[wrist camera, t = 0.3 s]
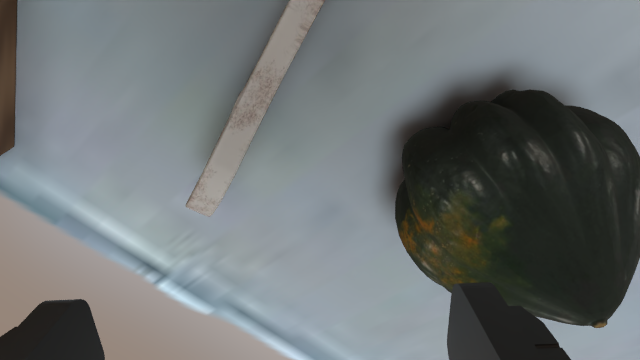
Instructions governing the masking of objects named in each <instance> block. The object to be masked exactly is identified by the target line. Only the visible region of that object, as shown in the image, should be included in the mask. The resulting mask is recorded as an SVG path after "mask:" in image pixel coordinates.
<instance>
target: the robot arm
mask: <svg viewBox="0 0 640 360" xmlns="http://www.w3.org/2000/svg"><path fill="white" fill-rule="evenodd" d="M447 348H448V355H449V360H571V359H570V358H569V356H568V355H567V354H566V352H565V351H564V350H563V348H560V347H559V343H558V342H557V340H556V339H555V338H554V336H553V335H552V334H551V332H550V331H549V330H548V328H547V327H546V326H545V324H544V323H543V322H542V321H540V320H539V319H538V318H536V317H535V316H534V315H532V314H531V313H530V312H528V311H527V310H525V309H524V308H523V307H521V306H508V305H507V303H506V302H505V300H504V299H503V297H502V296H501V294H500V293H499V291H498V290H497V288H496V287H495V286H494V285H493V284H492V283H491V282H481V283H459V284H454V286H453V289H452V295H451V305H450V315H449V325H448V335H447ZM0 360H105V357H104V351H103V348H102V345H101V342H100V338H99V335H98V332H97V329H96V326H95V323H94V320H93V317H92V313H91V310H90V307H89V305H88V303H87V302H86V301H85V300H82V299H76V300H54V301H44V302H42V303H41V304H39V305H38V306H37V307H36V308H35V309H34V310H33V311H32V312H31V313H30V314H29V315H28V317H27V318H26V319H25V320H24V321H23V322H22V323H21V324H20V325H19V326H18V327H14V328H13V329H12V330H10V331H8V332H7V333H5V334H4V335H2V336H1V337H0Z"/></svg>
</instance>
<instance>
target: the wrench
mask: <svg viewBox="0 0 640 360" xmlns="http://www.w3.org/2000/svg"><path fill="white" fill-rule="evenodd" d="M324 1H325V0H289V2H288V4H287V5H286V7H285V9H284V11H283V13H282V15H281V17H280V19H279V21H278V23H277V25H276V27H275V29H274V31H273V33H272V35H271V37H270V39H269V41H268V43H267V45H266V47H265V49H264V51H263V52H262V54H261V56H260V58H259V60H258V62H257V64H256V66H255V68H254V70H253V72H252V74H251V76H250V78H249V79H248V81H247V83H246V85H245V87H244V89H243V90H242V91H241V93H240V94H239V96H238V98H237V100H236V102H235V104H234V107H233V109H232V111H231V114H230V116H229V118H228V121H227V123H226V125H225V127H224V129H223V131H222V133H221V135H220V138H219V140H218V142H217V144H216V146H215V148H214V150H213V152H212V154H211V156H210V158H209V160H208V162H207V164H206V166H205V168H204V171H203V173H202V175H201V176H200V178H199V180H198V182H197V184H196V186H195V188H194V190H193V192H192V194H191V195H190V197H189V199H188V201H187V203H186V207H187V208H189V209H191V210H194V211H196V212H198V213H201V214H203V215H205V216H208V217H210V216H211V215H212V214H213V213H214V211H215V210H216V208H217V207H218V205H219V204H220V202H221V200H222V198H223V197H224V195H225V193H226V191H227V190H228V188H229V186H230V184H231V182H232V180H233V178H234V176H235V174H236V172H237V170H238V168H239V166H240V164H241V162H242V160H243V158H244V156H245V154H246V151H247V149H248V147H249V145H250V143H251V141H252V139H253V137H254V135H255V133H256V131H257V129H258V127H259V125H260V123H261V121H262V119H263V117H264V115H265V113H266V111H267V109H268V107H269V105H270V103H271V101H272V99H273V97H274V95H275V93H276V91H277V89H278V87H279V85H280V83H281V81H282V79H283V77H284V75H285V73H286V71H287V70H288V68H289V66H290V64H291V62H292V60H293V59H294V57H295V55H296V53H297V51H298V49H299V47H300V46H301V44H302V42H303V40H304V38H305V36H306V34H307V33H308V31H309V29H310V27H311V25H312V23H313V21H314V20H315V18H316V16H317V14H318V12H319V10H320V8H321V7H322V5H323V3H324Z"/></svg>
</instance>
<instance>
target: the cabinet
mask: <svg viewBox="0 0 640 360" xmlns="http://www.w3.org/2000/svg"><path fill="white" fill-rule="evenodd" d="M16 27H17V0H0V156H1V155H2V154H4V153H5V152H7V151H8V150H9V149H11V148H12V147H14V133H15V80H16Z"/></svg>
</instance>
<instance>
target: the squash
mask: <svg viewBox="0 0 640 360" xmlns="http://www.w3.org/2000/svg"><path fill="white" fill-rule="evenodd" d="M402 163H403V171H404V177H405V180H404V181H403V182H402V184H401V185H400V187H399V189H398V192H397V197H396V202H395V219H396V223H397V228H398V232H399V236H400V238H401V241H402V243H403V245H404V247H405V249H406V251H407V253H408V254H409V255H410V257H411V258H412V260H413V261H414V262H415V264H416V265H417V266H418V268H419V269H420V270H421V271H422V272H423V273H424V274H425V275H426V276H427V277H429V278H430V279H431V280H433V281H434V282H436V283H438V284H439V285H441V286H443V287H444V288H446V289H447V290H448V291H449V292H451V293H452V289H453V286H454V284H459V283H481V282H491V283H492V284H493V285H494V286H495V287H496V288H497V290H498V291H499V293H500V294H501V296H502V297H503V299H504V300H505V302H506V303H507V305H508V306H521V307H523V308H524V309H525V310H527V311H528V312H530V313H531V314H532V315H534V316H535V317H540V318H545V319H549V320H553V321H557V322H561V323H566V324H572V325H580V326H592V327H594V328H601V327H604V326H606V325H607V320H608V319H609V318H610V317H611V316H612V315H613V313H614V312H615V311H616V309H617V308H618V307H619V305H620V304H621V302H622V300H623V299H624V296H625V294H626V292H627V289H628V287H629V284H630V282H631V280H632V277H633V275H634V272H635V270H636V267H637V264H638V261H639V258H640V156H639V154H638V152H637V150H636V148H635V147H634V145H633V144H632V142H631V140H630V139H629V137H628V136H627V134H626V133H625V132H624V130H623V129H622V128H621V127H620V126H619V125H617V124H616V123H615V122H613V121H611V120H610V119H608V118H606V117H604V116H601V115H599V114H597V113H596V112H593V111H591V110H588V109H584V108H581V107H576V106H565V105H563V104H562V103H561V102H559V101H558V100H557V99H556V98H554V97H553V96H552V95H550V94H548V93H546V92H544V91H538V90H525V91H516V90H508V91H505V92H504V93H502V94H500V95H498V96H497V97H496V98H495V99H494V100H493V101H492V102H487V101H474V102H470V103H467V104H464V105H462V106H461V107H460V108H459V109H458V110H457V111H456V113H455V114H454V117H453V119H452V122H451V126H450V129H447V128H443V127H434V128H428V129H424V130H421V131H419V132H417V133H416V134H415V135H413V136H412V137H411V138H410V139H409V140H408V142H407V143H406V144H405V146H404V149H403V154H402Z"/></svg>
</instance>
